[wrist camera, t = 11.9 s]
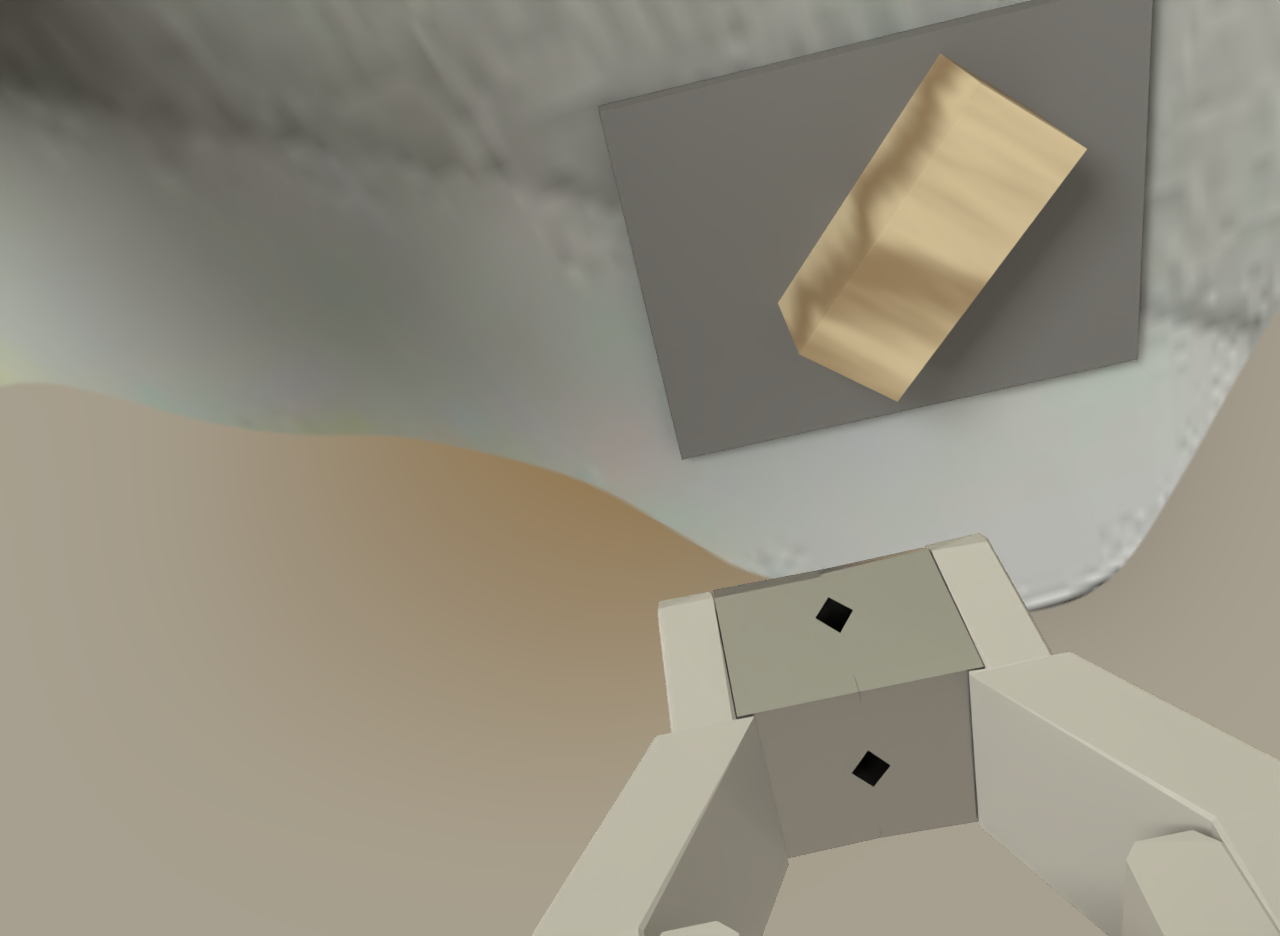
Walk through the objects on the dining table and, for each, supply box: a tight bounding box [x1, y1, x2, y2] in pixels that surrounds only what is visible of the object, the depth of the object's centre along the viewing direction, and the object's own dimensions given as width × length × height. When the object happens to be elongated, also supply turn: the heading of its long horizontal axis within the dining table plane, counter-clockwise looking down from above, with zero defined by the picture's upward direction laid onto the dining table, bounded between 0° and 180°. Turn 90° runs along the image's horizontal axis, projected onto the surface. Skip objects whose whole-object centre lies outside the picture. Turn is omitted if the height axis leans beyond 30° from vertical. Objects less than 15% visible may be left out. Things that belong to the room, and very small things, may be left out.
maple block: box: [778, 53, 1087, 402], centre depth 44 cm, size 5×5×12 cm
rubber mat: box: [599, 0, 1153, 460], centre depth 47 cm, size 22×17×1 cm
